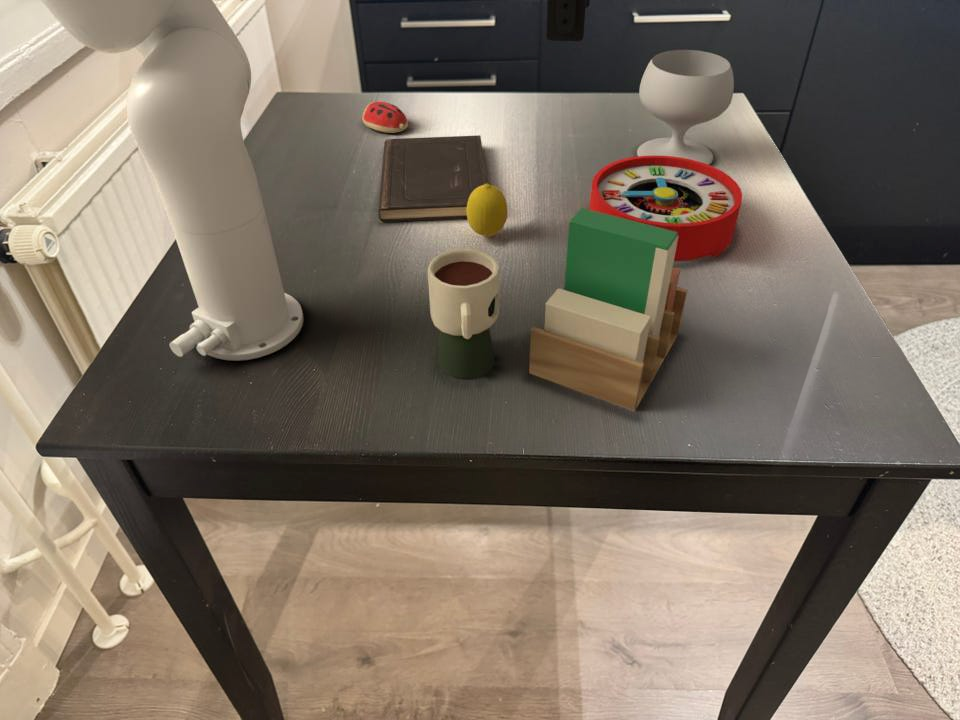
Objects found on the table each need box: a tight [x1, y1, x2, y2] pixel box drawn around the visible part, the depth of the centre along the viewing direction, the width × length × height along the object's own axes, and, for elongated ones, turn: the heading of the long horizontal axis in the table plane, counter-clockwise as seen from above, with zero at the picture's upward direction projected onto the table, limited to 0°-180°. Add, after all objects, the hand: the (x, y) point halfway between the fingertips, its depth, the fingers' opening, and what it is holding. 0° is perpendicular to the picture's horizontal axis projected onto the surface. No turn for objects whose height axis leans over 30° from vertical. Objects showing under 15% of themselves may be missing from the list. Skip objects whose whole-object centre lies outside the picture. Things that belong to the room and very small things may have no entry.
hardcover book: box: [377, 134, 489, 223], centre depth 112 cm, size 16×23×2 cm
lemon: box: [466, 183, 508, 238], centre depth 98 cm, size 6×6×8 cm
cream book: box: [543, 287, 651, 363], centre depth 75 cm, size 3×10×9 cm, turn 60°
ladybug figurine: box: [361, 101, 409, 134], centre depth 128 cm, size 7×10×4 cm
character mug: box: [427, 248, 500, 380], centre depth 76 cm, size 11×7×13 cm, turn 4°
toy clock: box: [588, 155, 743, 262], centre depth 100 cm, size 20×6×20 cm
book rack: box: [528, 286, 689, 412], centre depth 79 cm, size 14×12×7 cm
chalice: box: [636, 49, 735, 165], centre depth 113 cm, size 14×14×15 cm
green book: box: [563, 207, 678, 336], centre depth 75 cm, size 3×10×16 cm, turn 61°
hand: (568, 22), depth 67 cm, fingers open, 9 cm apart
